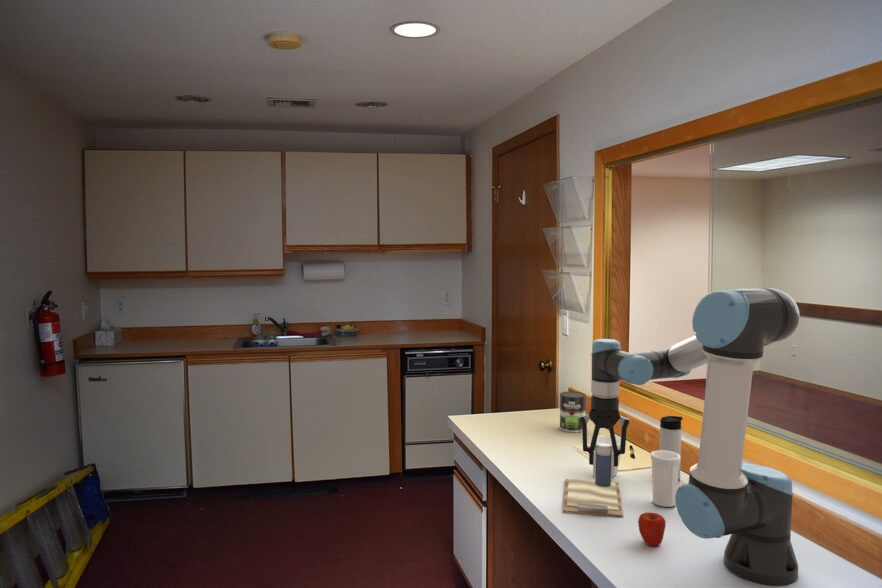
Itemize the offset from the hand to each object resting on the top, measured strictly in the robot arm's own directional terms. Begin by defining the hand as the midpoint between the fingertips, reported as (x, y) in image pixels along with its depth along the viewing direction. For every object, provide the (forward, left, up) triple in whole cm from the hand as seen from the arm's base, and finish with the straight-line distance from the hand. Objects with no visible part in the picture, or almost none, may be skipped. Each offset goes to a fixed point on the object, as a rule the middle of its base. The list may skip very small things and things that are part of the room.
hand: (603, 476), depth 177 cm
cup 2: (+6, -17, -9) cm, 20 cm away
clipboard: (+6, +3, -9) cm, 11 cm away
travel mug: (+26, -21, -9) cm, 35 cm away
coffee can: (+75, +10, -9) cm, 76 cm away
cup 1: (+27, -2, -9) cm, 28 cm away
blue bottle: (0, 0, -2) cm, 2 cm away
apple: (-20, -11, -9) cm, 25 cm away
